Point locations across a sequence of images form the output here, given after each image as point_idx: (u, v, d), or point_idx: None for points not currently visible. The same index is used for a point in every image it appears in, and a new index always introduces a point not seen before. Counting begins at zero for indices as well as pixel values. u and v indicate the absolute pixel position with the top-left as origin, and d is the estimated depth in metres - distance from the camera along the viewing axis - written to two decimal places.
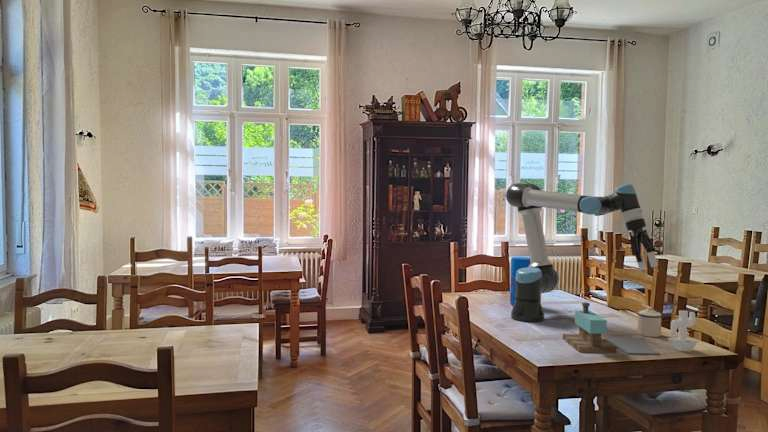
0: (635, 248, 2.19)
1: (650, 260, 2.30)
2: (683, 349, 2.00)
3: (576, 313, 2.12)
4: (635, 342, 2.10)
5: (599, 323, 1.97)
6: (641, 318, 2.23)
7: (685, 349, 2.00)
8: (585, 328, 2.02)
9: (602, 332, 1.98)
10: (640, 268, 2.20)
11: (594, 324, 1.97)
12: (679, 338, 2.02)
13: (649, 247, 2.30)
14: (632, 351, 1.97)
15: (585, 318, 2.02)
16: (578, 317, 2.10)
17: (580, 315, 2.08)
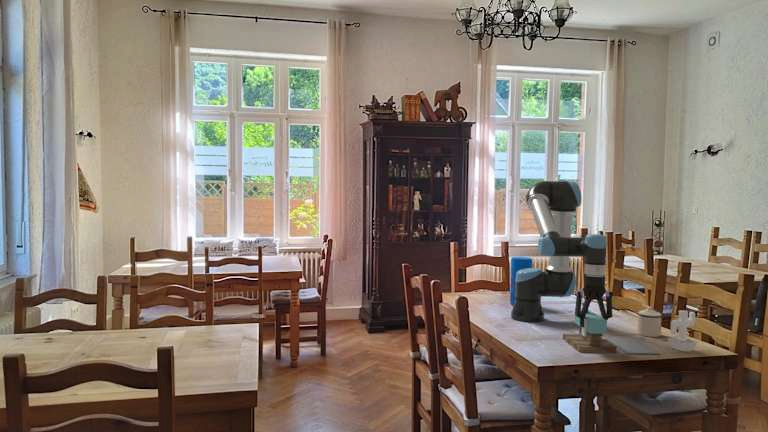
0: (576, 312, 2.02)
1: None
2: (683, 349, 2.00)
3: None
4: (635, 342, 2.10)
5: (599, 323, 1.97)
6: (641, 318, 2.23)
7: (685, 349, 2.00)
8: None
9: (602, 332, 1.98)
10: (582, 333, 2.03)
11: (594, 324, 1.97)
12: (679, 338, 2.02)
13: (602, 312, 2.02)
14: (632, 351, 1.97)
15: (585, 318, 2.02)
16: (578, 317, 2.10)
17: None
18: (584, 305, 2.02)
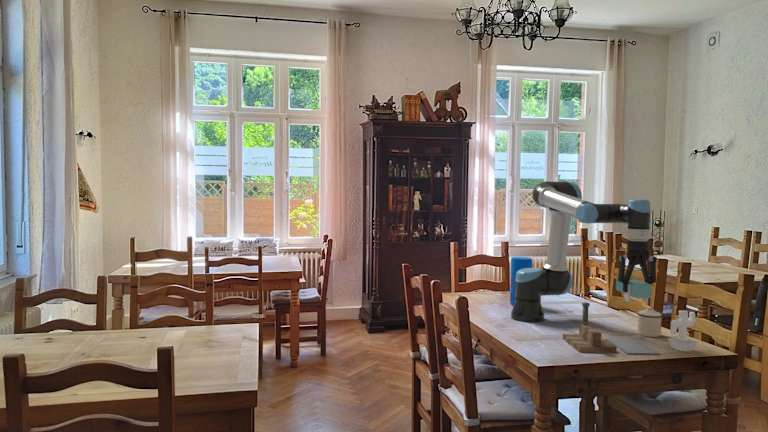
0: (620, 277, 2.01)
1: None
2: (683, 349, 2.00)
3: (617, 280, 2.11)
4: (635, 342, 2.10)
5: (644, 287, 1.97)
6: (641, 318, 2.23)
7: (685, 349, 2.00)
8: None
9: (647, 296, 1.97)
10: (625, 298, 2.03)
11: (639, 288, 1.97)
12: (679, 338, 2.02)
13: (645, 277, 2.01)
14: (632, 351, 1.97)
15: (628, 283, 2.02)
16: (620, 283, 2.09)
17: None
18: (627, 270, 2.01)
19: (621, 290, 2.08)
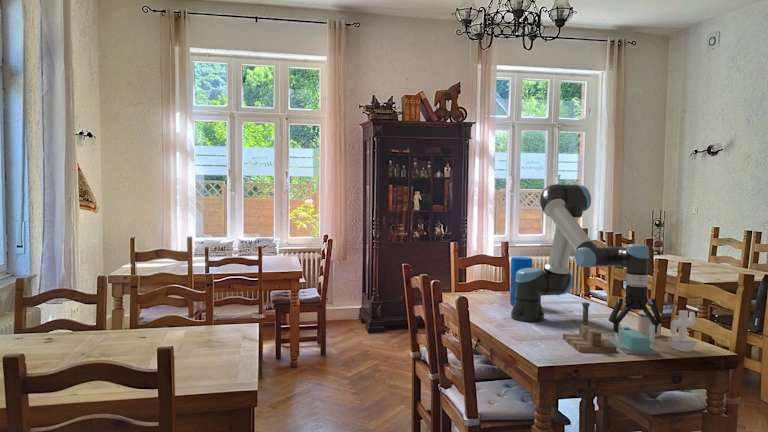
0: (611, 317, 2.02)
1: (650, 333, 2.03)
2: (683, 349, 2.00)
3: None
4: None
5: (642, 340, 1.98)
6: (641, 318, 2.23)
7: (685, 349, 2.00)
8: (627, 345, 2.02)
9: (645, 350, 1.98)
10: (616, 338, 2.03)
11: (637, 342, 1.98)
12: (679, 338, 2.02)
13: (650, 319, 2.02)
14: (632, 351, 1.97)
15: (627, 335, 2.02)
16: None
17: (621, 332, 2.08)
18: (622, 312, 2.02)
19: None
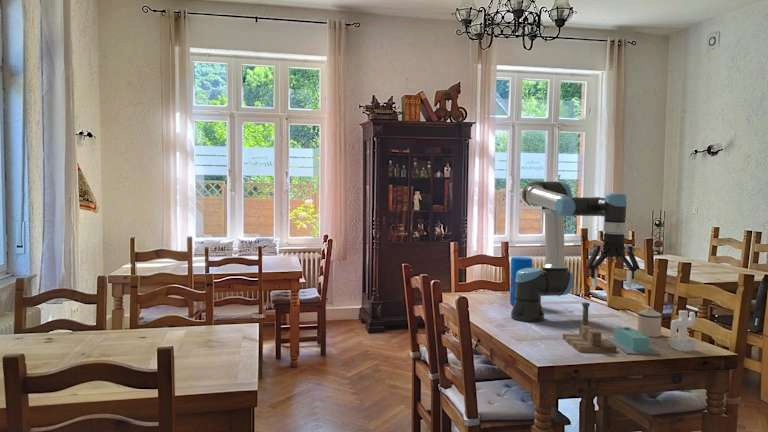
0: (588, 263, 2.08)
1: (627, 279, 2.10)
2: (683, 349, 2.00)
3: (616, 330, 2.12)
4: None
5: (642, 340, 1.98)
6: (641, 318, 2.23)
7: (685, 349, 2.00)
8: (627, 345, 2.02)
9: (645, 350, 1.98)
10: (592, 284, 2.10)
11: (637, 342, 1.98)
12: (679, 338, 2.02)
13: (628, 265, 2.08)
14: (632, 351, 1.97)
15: (627, 335, 2.02)
16: (618, 334, 2.10)
17: (621, 332, 2.08)
18: (599, 259, 2.08)
19: (619, 340, 2.09)
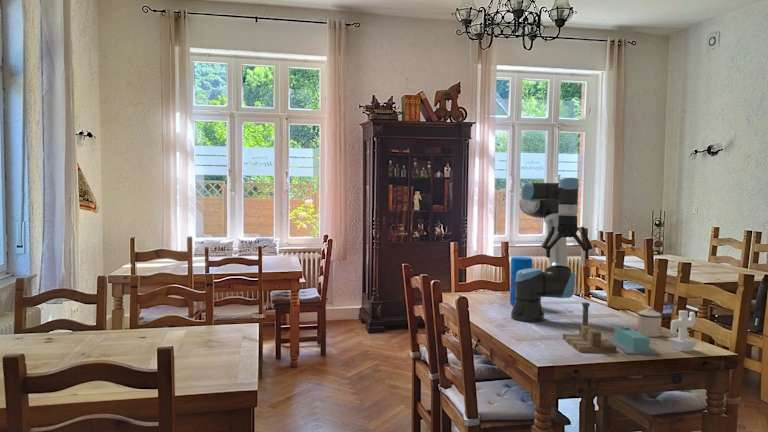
0: (544, 243, 2.21)
1: (581, 258, 2.22)
2: (683, 349, 2.00)
3: (616, 330, 2.12)
4: None
5: (642, 340, 1.98)
6: (641, 318, 2.23)
7: (685, 349, 2.00)
8: (627, 345, 2.02)
9: (645, 350, 1.98)
10: (548, 263, 2.22)
11: (637, 342, 1.98)
12: (679, 338, 2.02)
13: (581, 245, 2.21)
14: (632, 351, 1.97)
15: (627, 335, 2.02)
16: (618, 334, 2.10)
17: (621, 332, 2.08)
18: (554, 239, 2.21)
19: (619, 340, 2.09)
